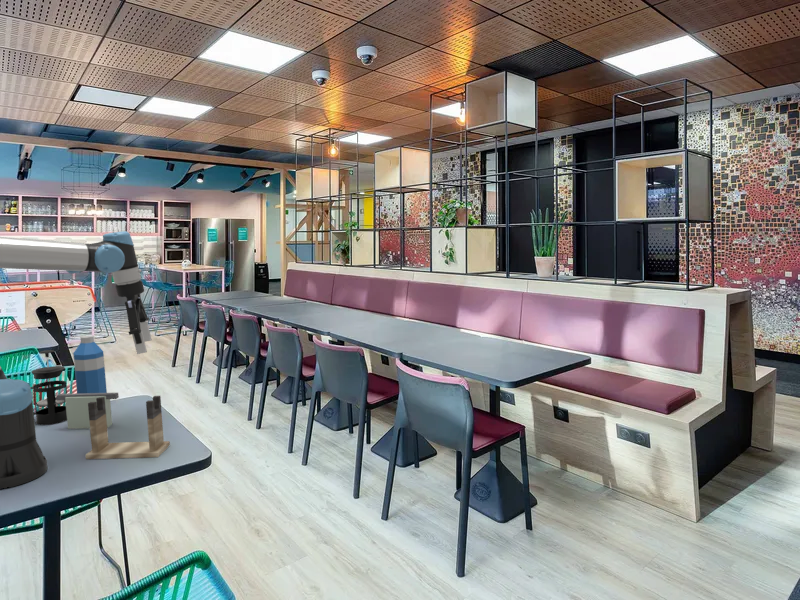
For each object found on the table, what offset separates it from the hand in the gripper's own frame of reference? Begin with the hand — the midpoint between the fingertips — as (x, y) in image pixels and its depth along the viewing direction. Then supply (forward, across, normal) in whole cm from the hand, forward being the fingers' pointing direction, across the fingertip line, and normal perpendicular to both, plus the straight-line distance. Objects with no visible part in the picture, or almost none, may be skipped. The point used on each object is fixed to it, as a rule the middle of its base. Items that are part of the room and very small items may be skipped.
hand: (144, 346), depth 168 cm
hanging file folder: (+21, -2, +20) cm, 29 cm away
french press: (+21, +9, +34) cm, 40 cm away
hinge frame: (+21, -29, +6) cm, 36 cm away
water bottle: (+23, +20, +24) cm, 38 cm away
